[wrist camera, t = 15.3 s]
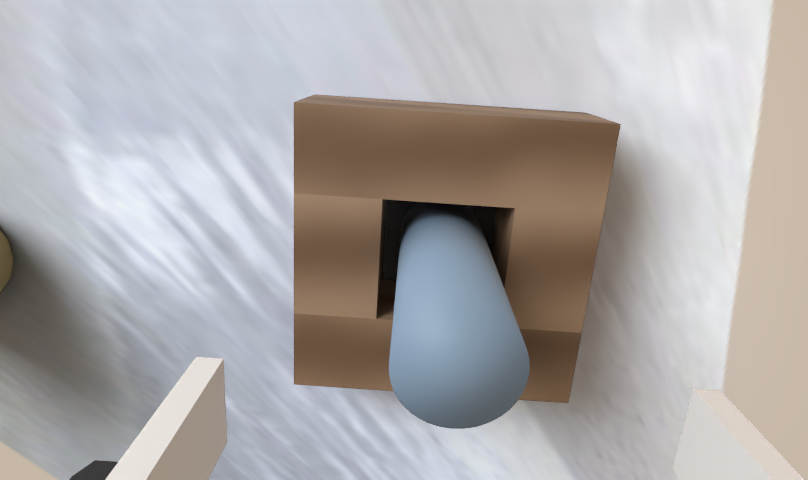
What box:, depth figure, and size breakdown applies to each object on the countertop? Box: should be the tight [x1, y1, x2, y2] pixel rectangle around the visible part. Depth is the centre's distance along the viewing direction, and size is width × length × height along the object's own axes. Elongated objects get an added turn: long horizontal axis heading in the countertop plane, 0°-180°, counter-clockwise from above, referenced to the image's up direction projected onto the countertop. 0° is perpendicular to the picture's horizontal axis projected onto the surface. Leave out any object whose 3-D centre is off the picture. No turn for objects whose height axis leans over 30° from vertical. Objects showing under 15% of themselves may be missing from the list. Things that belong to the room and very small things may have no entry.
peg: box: [389, 202, 530, 428], centre depth 24 cm, size 4×4×14 cm
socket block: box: [294, 95, 620, 403], centre depth 28 cm, size 14×14×5 cm
